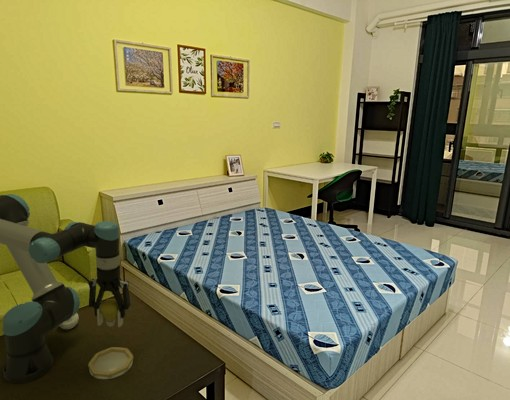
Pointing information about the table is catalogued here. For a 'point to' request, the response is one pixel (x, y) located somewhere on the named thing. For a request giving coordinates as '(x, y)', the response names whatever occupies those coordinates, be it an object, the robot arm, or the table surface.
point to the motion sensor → (70, 322)
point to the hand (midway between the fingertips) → (110, 324)
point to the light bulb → (109, 311)
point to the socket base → (110, 363)
